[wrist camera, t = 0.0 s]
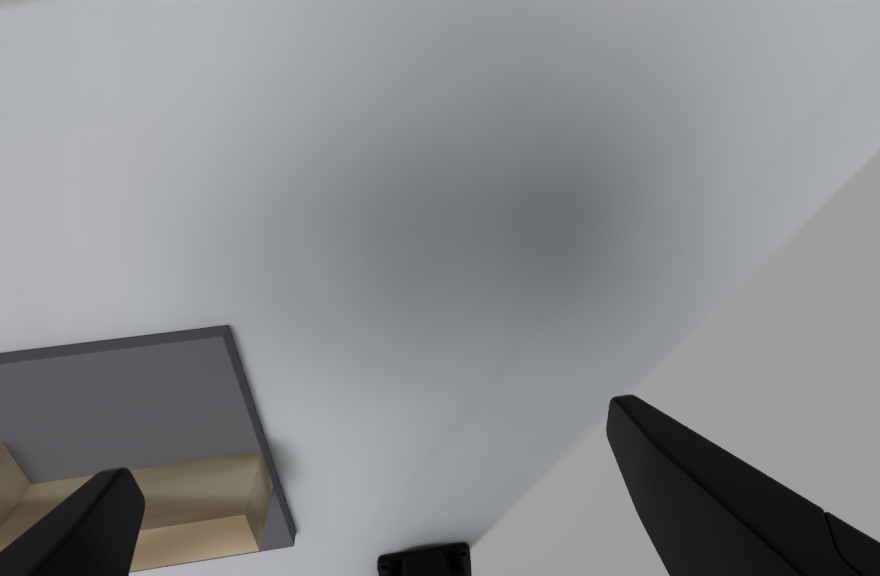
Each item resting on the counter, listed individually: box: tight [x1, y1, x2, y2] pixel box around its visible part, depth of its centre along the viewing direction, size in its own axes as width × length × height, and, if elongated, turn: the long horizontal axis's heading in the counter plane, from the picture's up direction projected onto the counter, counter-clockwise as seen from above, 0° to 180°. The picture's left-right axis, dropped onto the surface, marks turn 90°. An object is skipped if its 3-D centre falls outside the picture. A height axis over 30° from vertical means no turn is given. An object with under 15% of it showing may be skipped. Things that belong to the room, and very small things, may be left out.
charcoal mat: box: [0, 325, 296, 573], centre depth 26 cm, size 16×27×1 cm, turn 94°
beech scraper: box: [0, 442, 273, 572], centre depth 25 cm, size 9×13×4 cm
